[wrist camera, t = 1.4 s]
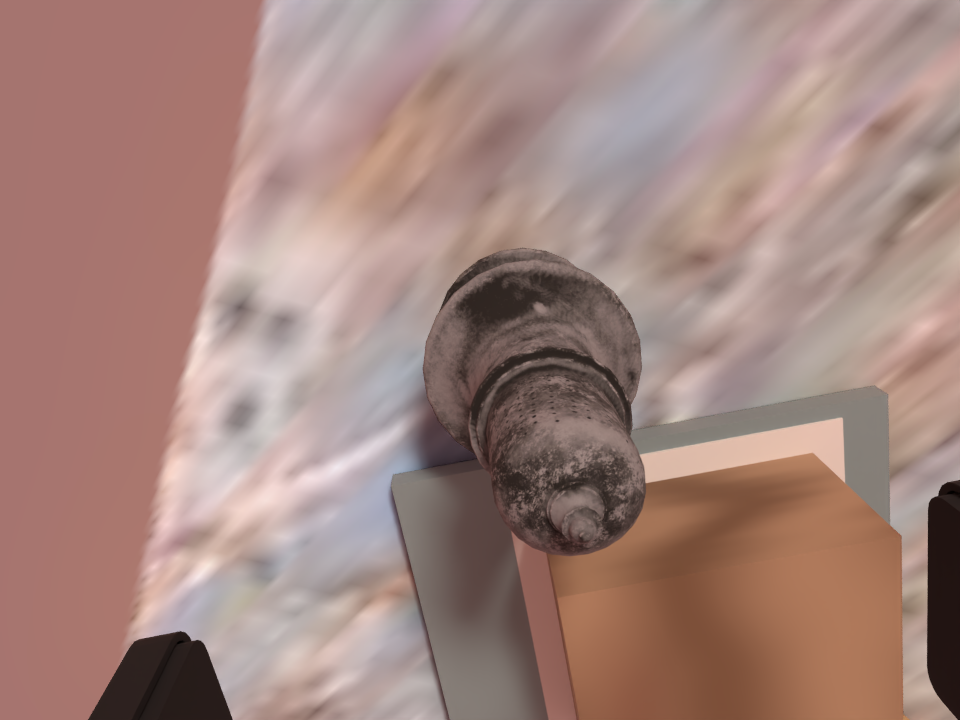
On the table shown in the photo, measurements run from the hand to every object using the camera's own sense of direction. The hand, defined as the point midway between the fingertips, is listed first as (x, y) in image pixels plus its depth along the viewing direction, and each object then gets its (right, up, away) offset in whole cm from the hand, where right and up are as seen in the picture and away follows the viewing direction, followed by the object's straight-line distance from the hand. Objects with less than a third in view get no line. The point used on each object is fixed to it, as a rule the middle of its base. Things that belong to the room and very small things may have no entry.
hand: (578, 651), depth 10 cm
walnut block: (+6, -4, +16) cm, 18 cm away
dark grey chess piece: (0, +5, +14) cm, 15 cm away
